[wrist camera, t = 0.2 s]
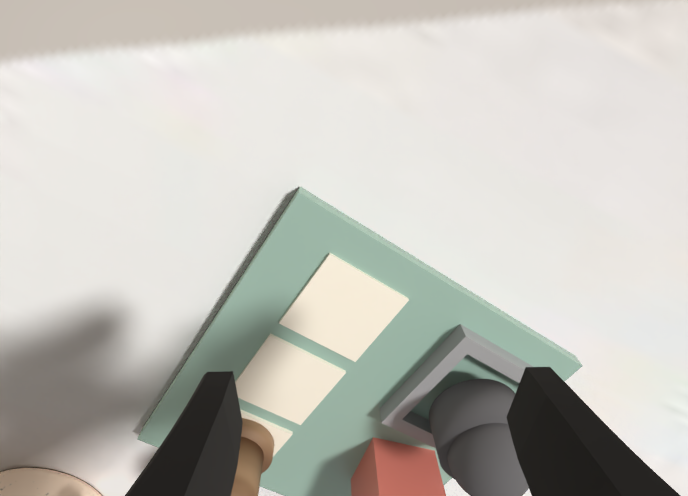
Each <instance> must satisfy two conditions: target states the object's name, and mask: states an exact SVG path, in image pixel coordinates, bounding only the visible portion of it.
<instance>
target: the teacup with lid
mask: <svg viewBox="0 0 688 496" xmlns="http://www.w3.org/2000/svg"><path fill="white" fill-rule="evenodd" d="M0 496H102V495H101V494H100V493H99V492H98V491H97V490H95V489H94V488H93V487H92V486H90V485H89V484H87V483H85V482H84V481H82V480H80V479H78V478H75V477H73V476H71V475H68V474H65V473H62V472H58V471H54V470H49V469H41V468H18V469H11V470H6V471H3V472H0Z"/></svg>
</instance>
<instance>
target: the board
mask: <svg viewBox="0 0 688 496" xmlns="http://www.w3.org/2000/svg"><path fill="white" fill-rule="evenodd" d="M526 367H551V368H552V369H553V370H554V371H555V373H556V374H557V375H558V376H559V377H560V378H561V379H562V380H563V381H566V380H567V379H568V378H569V377H570V376H571V375H572V374H574V373H575V372H576V371H577V370H578V369H579V368H581V367H582V364H581V363H580V362H579V361H578V359H577V358H576V357H575V356H574V355H573V354H571V353H569V352H568V351H566V350H565V349H563V348H561V347H560V346H558V345H556V344H555V343H553V342H552V341H550V340H548V339H547V338H545V337H543V336H542V335H540V334H539V333H537V332H535V331H534V330H532V329H530V328H529V327H527V326H526V325H524V324H522V323H521V322H519V321H517V320H516V319H514V318H513V317H511V316H509V315H508V314H506V313H504V312H503V311H501V310H500V309H498V308H496V307H495V306H493V305H491V304H490V303H488V302H487V301H485V300H483V299H482V298H480V297H478V296H477V295H475V294H474V293H472V292H470V291H469V290H467V289H465V288H464V287H462V286H461V285H459V284H457V283H456V282H454V281H452V280H451V279H449V278H448V277H446V276H444V275H443V274H441V273H439V272H438V271H436V270H435V269H433V268H431V267H430V266H428V265H426V264H425V263H423V262H422V261H420V260H418V259H417V258H415V257H413V256H412V255H410V254H409V253H407V252H405V251H404V250H402V249H400V248H399V247H397V246H396V245H394V244H392V243H391V242H389V241H387V240H386V239H384V238H383V237H381V236H379V235H378V234H376V233H374V232H373V231H371V230H370V229H368V228H366V227H365V226H363V225H361V224H360V223H358V222H357V221H355V220H353V219H352V218H350V217H348V216H347V215H345V214H344V213H342V212H340V211H339V210H337V209H335V208H334V207H332V206H331V205H329V204H327V203H326V202H324V201H322V200H321V199H319V198H318V197H316V196H314V195H313V194H311V193H309V192H308V191H306V190H305V189H303V188H301V187H299V189H298V190H297V192H296V193H295V195H294V196H293V198H292V199H291V201H290V202H289V204H288V205H287V207H286V208H285V210H284V212H283V213H282V215H281V216H280V218H279V219H278V221H277V222H276V224H275V225H274V227H273V228H272V230H271V232H270V233H269V235H268V236H267V238H266V239H265V241H264V242H263V244H262V245H261V247H260V248H259V250H258V252H257V253H256V255H255V256H254V258H253V259H252V261H251V262H250V264H249V265H248V267H247V268H246V270H245V271H244V273H243V275H242V276H241V278H240V279H239V281H238V282H237V284H236V285H235V287H234V288H233V290H232V291H231V293H230V295H229V296H228V298H227V299H226V301H225V302H224V304H223V305H222V307H221V308H220V310H219V311H218V313H217V315H216V316H215V318H214V319H213V321H212V322H211V324H210V325H209V327H208V328H207V330H206V331H205V333H204V334H203V336H202V338H201V339H200V341H199V342H198V344H197V345H196V347H195V348H194V350H193V351H192V353H191V354H190V356H189V358H188V359H187V361H186V362H185V364H184V365H183V367H182V368H181V370H180V371H179V373H178V374H177V376H176V377H175V379H174V381H173V382H172V384H171V385H170V387H169V388H168V390H167V391H166V393H165V394H164V396H163V397H162V399H161V401H160V402H159V404H158V405H157V407H156V408H155V410H154V411H153V413H152V414H151V416H150V417H149V419H148V421H147V422H146V424H145V425H144V427H143V428H142V430H141V432H140V435H139V437H138V440H140V441H143V442H145V443H148V444H151V445H153V446H156V447H158V448H159V447H160V446H161V444H162V443H163V441H164V440H165V438H166V437H167V435H168V434H169V432H170V431H171V429H172V428H173V426H174V424H175V423H176V421H177V420H178V418H179V416H180V415H181V413H182V412H183V410H184V408H185V407H186V405H187V403H188V402H189V400H190V398H191V397H192V395H193V393H194V391H195V390H196V388H197V386H198V384H199V383H200V381H201V379H202V377H203V375H204V374H206V373H207V372H225V371H233V374H234V379H235V384H236V389H237V395H238V400H239V405H240V411H241V416H242V418H245V419H249V420H252V421H255V422H257V423H259V424H261V425H263V426H264V427H265V428H266V429H267V430H268V431H269V432H270V433H271V435H272V437H273V439H274V452H273V459H272V463H271V465H270V466H269V468H268V469H267V470H266V471H265V472H263V473H262V474H261V479H260V485H259V486H260V487H263V488H266V489H268V490H271V491H274V492H276V493H279V494H281V495H284V496H351V478H352V476H353V474H354V472H355V470H356V469H357V467H358V465H359V463H360V461H361V459H362V457H363V455H364V453H365V452H366V450H367V448H368V446H369V444H370V442H371V440H372V438H373V437H374V438H379V439H384V440H388V441H393V442H397V443H402V444H407V445H411V446H416V447H420V448H425V449H430V450H434V451H435V454H436V458H437V462H438V466H439V470H440V474H441V478H442V482H443V485H445V484H446V483H447V482H448V481H449V480H450V479H452V477H450V476H449V475H448V474H447V473H446V472H445V471H444V470H443V469H442V467H441V465H440V462H439V458H438V454H437V450H436V446H435V442H434V438H433V434H432V430H431V427H430V423H429V410H430V407H431V405H432V403H433V402H434V400H435V399H436V398H437V397H438V395H439V394H441V393H442V392H443V391H444V390H446V389H447V388H449V387H451V386H452V385H455V384H457V383H459V382H462V381H466V380H471V379H491V380H496V381H499V382H501V383H503V384H505V385H507V386H508V387H510V388H511V389H512V390H513V391H514V393H515V394H516V391H517V388H518V386H519V383H520V381H521V378H522V376H523V373H524V370H525V368H526Z"/></svg>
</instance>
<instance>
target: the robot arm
mask: <svg viewBox="0 0 688 496" xmlns="http://www.w3.org/2000/svg"><path fill="white" fill-rule="evenodd" d="M506 418H507V421H508V425H509V429H510V433H511V437H512V441H513V444H514V448H515V451H516V455H517V458H518V461H519V464H520V466H521V469H522V471H523V474H524V476H525V479H526V481H527V484H528V486H529V489H530V492H531V494H532V496H680V495H679V494H678V493H677V492H676V491H675V490H674V489H672V488H671V487H670V486H669V485H668V484H667V483H666V482H665V481H664V480H663V479H661V478H660V477H659V476H658V475H657V474H656V473H655V472H654V471H653V470H652V469H651V468H650V467H648V466H647V465H646V464H645V463H644V462H643V461H642V460H641V459H640V458H639V457H638V456H637V455H636V454H635V453H634V452H633V451H632V450H631V449H630V448H629V447H628V446H627V445H626V444H625V443H624V442H623V441H622V440H621V439H620V438H619V437H618V436H617V435H616V434H615V433H614V432H613V431H612V430H611V429H610V428H609V427H608V426H607V425H606V424H605V423H604V422H603V421H602V420H601V419H600V418H599V417H598V416H597V415H596V414H595V413H594V412H593V411H592V410H591V409H590V408H589V407H588V406H587V405H586V404H585V403H584V402H583V401H582V400H581V399H580V398H579V396H578V395H577V394H576V393H575V392H574V391H573V390H572V389H571V388H570V387H569V386H568V385H567V384H566V383H565V382H564V381H563V380H562V379H561V378H560V377H559V376H558V375H557V374H556V373H555V371H554V370H553V369H552V368H551V367H526V368H525V370H524V373H523V376H522V378H521V381H520V383H519V386H518V388H517V391H516V394H515V396H514V399H513V401H512V404H511V407H510V409H509V412H508V414H507V417H506ZM242 424H243V421H242V416H241V411H240V405H239V400H238V395H237V389H236V384H235V379H234V374H233V371H225V372H207V373H206V374H204V375H203V377H202V379H201V381H200V383H199V384H198V386H197V388H196V390H195V391H194V393H193V395H192V397H191V398H190V400H189V402H188V403H187V405H186V407H185V408H184V410H183V412H182V413H181V415H180V416H179V418H178V420H177V421H176V423H175V424H174V426H173V428H172V429H171V431H170V432H169V434H168V435H167V437H166V438H165V440H164V441H163V443H162V444H161V446H160V447H159V449H158V450H157V452H156V453H155V455H154V456H153V458H152V459H151V461H150V462H149V463H148V465H147V466H146V468H145V469H144V470H143V472H142V473H141V475H140V476H139V477H138V479H137V480H136V481H135V483H134V484H133V485H132V487H131V488H130V490H129V491H128V492H127V494H126V495H125V496H231V492H232V488H233V483H234V479H235V474H236V470H237V465H238V457H239V450H240V441H241V433H242Z"/></svg>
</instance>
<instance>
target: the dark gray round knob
mask: <svg viewBox="0 0 688 496" xmlns="http://www.w3.org/2000/svg"><path fill="white" fill-rule="evenodd" d="M514 396H515V393H514V391H513V390H512V389H511V388H510V387H508V386H507V385H505V384H503V383H501V382H499V381H496V380H491V379H471V380H466V381H462V382H459V383H457V384H455V385H452V386H451V387H449V388H447V389H446V390H444V391H443V392H442V393H441V394H439V395H438V397H437V398H436V399H435V400H434V402H433V403H432V405H431V407H430V410H429V423H430V427H431V430H432V434H433V438H434V442H435V446H436V450H437V454H438V458H439V462H440V465H441V467H442V469H443V470H444V471H445V472H446V473H447V474H448V475H449V476H450V477H452V478H454V479H455V480H456V481H457V482H458V484H459V485H460V486H461V487H462V489H463V490H464V491H465V492H467V493H468V494H469V495H471V496H522V495H523V494H524V493H525V492H526V491H527V490H528V488H529V486H528V484H527V481H526V479H525V476H524V474H523V471H522V469H521V466H520V464H519V461H518V458H517V455H516V451H515V448H514V444H513V441H512V437H511V433H510V429H509V425H508V421H507V418H506V417H507V414H508V412H509V409H510V407H511V404H512V401H513V399H514Z"/></svg>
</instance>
